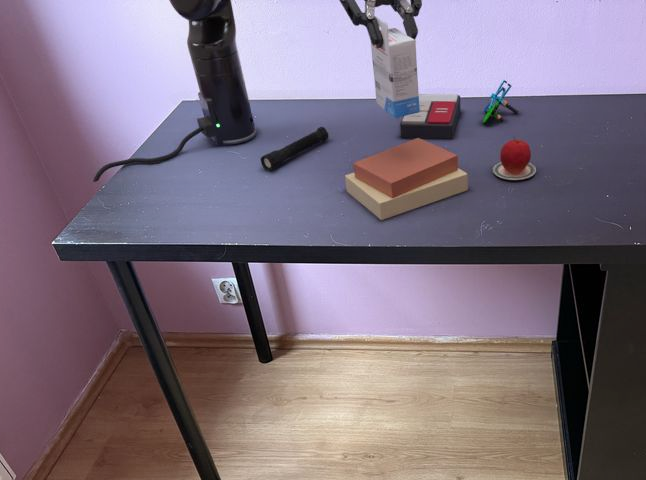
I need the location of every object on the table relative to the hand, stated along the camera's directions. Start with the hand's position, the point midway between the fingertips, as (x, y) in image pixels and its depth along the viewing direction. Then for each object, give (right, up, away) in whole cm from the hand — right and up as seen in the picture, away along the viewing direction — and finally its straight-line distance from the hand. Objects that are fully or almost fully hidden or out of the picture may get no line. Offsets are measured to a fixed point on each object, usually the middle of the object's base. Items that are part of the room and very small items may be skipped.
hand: (396, 42), depth 105 cm
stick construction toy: (+20, +2, +39) cm, 44 cm away
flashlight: (-22, -10, +29) cm, 37 cm away
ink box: (0, -7, +9) cm, 11 cm away
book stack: (+1, -20, +15) cm, 25 cm away
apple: (+21, -16, +19) cm, 32 cm away
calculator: (+5, 0, +38) cm, 38 cm away
